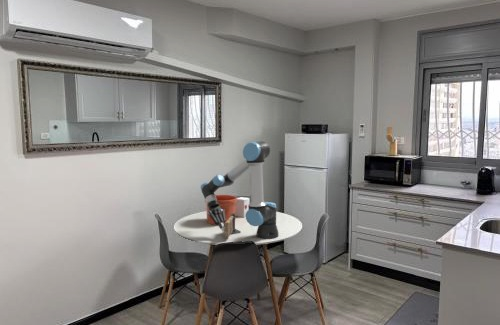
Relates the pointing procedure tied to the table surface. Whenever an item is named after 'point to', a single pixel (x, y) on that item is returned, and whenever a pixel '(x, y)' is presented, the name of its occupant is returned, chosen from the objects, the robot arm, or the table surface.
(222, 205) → the pot
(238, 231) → the gate post
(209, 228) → the table surface
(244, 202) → the supplement box
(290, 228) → the table surface
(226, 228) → the gate leaf
